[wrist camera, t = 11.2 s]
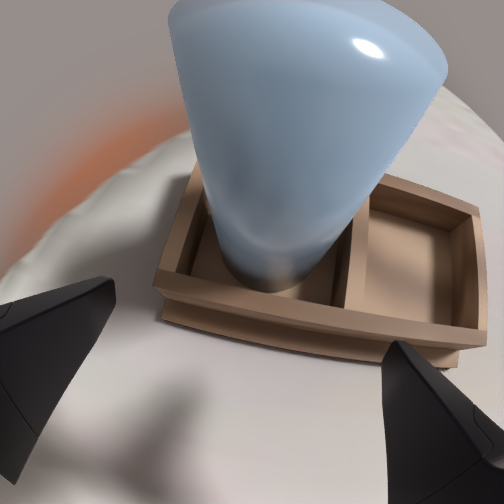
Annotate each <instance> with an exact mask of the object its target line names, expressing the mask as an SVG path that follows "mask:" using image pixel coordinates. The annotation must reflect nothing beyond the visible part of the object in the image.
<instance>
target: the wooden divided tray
mask: <svg viewBox="0 0 504 504" xmlns="http://www.w3.org/2000/svg"><path fill="white" fill-rule="evenodd" d="M152 286H153V287H154V288H155V289H156V290H157V291H159V292H160V293H161V294H162V295H164V296H165V297H166V301H165V305H164V308H163V312H162V316H161V319H163V320H166V321H169V322H173V323H176V324H180V325H184V326H187V327H191V328H195V329H199V330H203V331H207V332H211V333H215V334H219V335H223V336H227V337H231V338H236V339H240V340H245V341H249V342H254V343H259V344H264V345H268V346H273V347H279V348H284V349H289V350H295V351H300V352H306V353H312V354H318V355H324V356H331V357H338V358H345V359H352V360H360V361H368V362H377V363H382V360H383V357H384V356H385V354H386V352H387V350H388V348H389V347H390V345H391V343H392V342H393V341H394V340H402V341H406V342H407V343H408V344H410V345H411V346H412V347H413V348H414V349H415V350H416V351H417V352H419V353H420V354H421V355H422V356H423V357H424V358H425V359H426V360H427V361H429V362H430V363H431V364H432V365H433V366H434V367H439V368H457V365H458V357H459V350H464V349H470V348H476V347H482V346H486V343H487V321H488V293H487V271H486V258H485V248H484V240H483V232H482V225H481V219H480V213H479V208H478V207H476V206H474V205H472V204H469V203H467V202H465V201H462V200H460V199H457V198H455V197H452V196H449V195H447V194H444V193H441V192H439V191H436V190H433V189H431V188H428V187H425V186H422V185H419V184H416V183H413V182H410V181H407V180H404V179H401V178H398V177H395V176H392V175H389V174H384V175H383V177H382V178H381V180H380V181H379V182H378V184H377V185H376V187H375V188H374V189H373V191H372V192H371V194H370V195H369V196H368V198H367V199H366V201H365V202H364V203H363V205H362V206H361V207H360V209H359V210H358V212H357V213H356V214H355V216H354V217H353V218H352V220H351V221H350V222H349V224H348V225H347V226H346V228H345V229H344V230H343V232H342V233H341V234H340V236H339V237H338V238H337V240H336V241H335V242H334V243H333V245H332V246H331V247H330V249H329V250H328V251H327V253H326V254H325V255H324V256H323V258H322V259H321V260H320V261H319V263H318V264H317V265H316V267H315V268H314V269H313V270H312V272H311V273H310V274H309V275H308V277H306V278H305V279H304V280H303V281H302V282H301V283H299V284H298V285H296V286H294V287H293V288H290V289H288V290H284V291H280V292H263V291H258V290H254V289H252V288H249V287H247V286H245V285H244V284H242V283H240V282H239V281H238V280H237V279H236V278H235V277H234V276H233V275H232V274H231V273H230V272H229V270H228V269H227V267H226V265H225V263H224V261H223V258H222V255H221V251H220V247H219V243H218V239H217V236H216V232H215V228H214V224H213V220H212V216H211V212H210V208H209V204H208V201H207V197H206V193H205V188H204V184H203V180H202V176H201V172H200V168H199V164H198V160H197V162H196V164H195V167H194V169H193V172H192V174H191V177H190V179H189V182H188V184H187V187H186V189H185V192H184V195H183V197H182V200H181V203H180V205H179V208H178V211H177V213H176V216H175V219H174V222H173V224H172V227H171V230H170V233H169V236H168V239H167V242H166V245H165V248H164V251H163V254H162V257H161V260H160V263H159V266H158V269H157V272H156V275H155V279H154V282H153V285H152Z"/></svg>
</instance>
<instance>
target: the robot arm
mask: <svg viewBox="0 0 504 504" xmlns="http://www.w3.org/2000/svg"><path fill="white" fill-rule="evenodd" d="M115 304H116V294H115V283H114V280H113V279H112V278H109V277H106V276H99V277H96V278H92V279H89V280H85V281H82V282H78V283H75V284H71V285H68V286H64V287H61V288H57V289H54V290H50V291H47V292H44V293H40V294H37V295H33V296H30V297H27V298H23V299H20V300H17V301H14V302H10V303H7V304H3V305H0V474H1V475H2V476H3V477H5V478H6V479H7V480H8V481H10V482H11V483H12V484H14V485H15V484H16V482H17V481H18V478H19V476H20V474H21V472H22V470H23V468H24V466H25V464H26V462H27V459H28V457H29V455H30V454H31V452H32V450H33V448H34V446H35V444H36V442H37V440H38V437H39V436H40V434H41V432H42V430H43V428H44V427H45V425H46V423H47V421H48V419H49V418H50V416H51V414H52V412H53V411H54V409H55V407H56V405H57V404H58V402H59V400H60V399H61V397H62V395H63V393H64V392H65V390H66V388H67V387H68V385H69V384H70V382H71V380H72V379H73V377H74V375H75V374H76V372H77V371H78V369H79V367H80V366H81V364H82V363H83V361H84V360H85V358H86V357H87V355H88V353H89V352H90V350H91V349H92V347H93V346H94V344H95V343H96V341H97V339H98V337H99V335H100V334H101V332H102V330H103V328H104V326H105V324H106V322H107V320H108V318H109V317H110V315H111V313H112V311H113V309H114V307H115ZM381 371H382V408H383V418H384V428H385V440H386V454H387V475H388V504H504V430H503V429H501V428H500V427H499V426H498V425H497V424H496V423H494V422H493V421H492V420H491V419H490V418H489V417H488V416H487V415H486V414H484V413H483V412H482V411H481V410H480V409H479V408H478V407H477V406H476V405H475V404H473V402H472V401H471V400H470V399H469V398H468V397H466V396H465V395H464V394H463V393H462V392H461V391H460V390H459V389H458V388H457V387H456V386H455V385H454V384H453V383H451V382H450V381H449V380H448V379H447V378H446V377H445V376H444V375H443V374H442V373H441V372H440V371H438V370H437V369H436V368H435V367H434V366H433V365H432V364H431V363H430V362H429V361H427V360H426V359H425V358H424V357H423V356H422V355H421V354H420V353H419V352H417V351H416V350H415V349H414V348H413V347H412V346H411V345H410V344H408V343H407V342H406V341H402V340H394V341H393V342H392V343H391V345H390V347H389V348H388V350H387V352H386V354H385V356H384V357H383V360H382V363H381Z"/></svg>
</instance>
